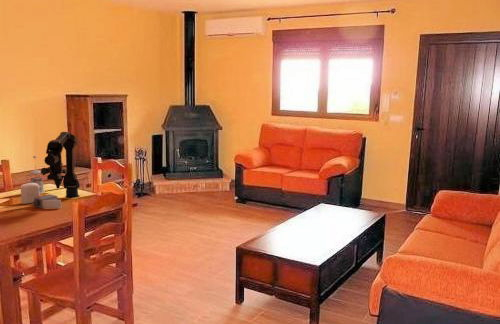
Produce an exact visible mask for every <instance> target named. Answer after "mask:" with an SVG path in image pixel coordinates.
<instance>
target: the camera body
mask: <svg viewBox="0 0 500 324" xmlns="http://www.w3.org/2000/svg"><path fill="white" fill-rule="evenodd" d="M42 200H59V199H58V196H57V195H54V194H46V195H45V194H44V195H41V196H38V197H35V198H34V201H33V203H32V204H33V206H34V207H35V208H39V209H42V210H44V209H43V207H42Z"/></svg>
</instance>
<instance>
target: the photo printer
mask: <svg viewBox="0 0 500 324" xmlns="http://www.w3.org/2000/svg"><path fill="white" fill-rule="evenodd" d="M39 186H40V185H38V184H37V183H30V182H29V183H28V182H26V183H24V184H21V186H20V201H21V204H22V205H25V204H26V205H27V204H33V201H34V198H35V197H38V196H40V195H41V194H39Z"/></svg>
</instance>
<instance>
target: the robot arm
mask: <svg viewBox="0 0 500 324" xmlns="http://www.w3.org/2000/svg"><path fill="white" fill-rule="evenodd" d="M77 143H78V139H77V137H76V136H75V135H74V134H72V133H70V132H69V131H61V132H60V133H59V135H58V136H57V137H56V138H55V139H52V140H50V141H48V143H47V146H46V150H45V154H46V155H47V156H45V158H44V163H45V164H46V165H47V166H48V167H43V168H41V169H40V171H41V175H42V176H46V175H47V176H46V179H47V180H48V181H49V180H53V181H54V184H55V188H56V189H60V187H61V185H62V184H63V188H64V189H65V194H66V195H65V198H69V199H74V198H78V197H80V195H79V190H78V189H79V188H81V186H80V185H81V183H80V181H79V179H78V175H77V174H76V172H75V154H74V153H75V151H74V150H75V149H76V147H77ZM63 150H65V166H66V167H65V168H63V165H64V164H63V162H62V161H63V160H62V152H63ZM62 174H63V175H62Z"/></svg>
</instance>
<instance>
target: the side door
mask: <svg viewBox="0 0 500 324" xmlns="http://www.w3.org/2000/svg"><path fill="white" fill-rule="evenodd" d="M42 207H43V209H42V210H44V209H62V200H61V199H58V200H42Z"/></svg>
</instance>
